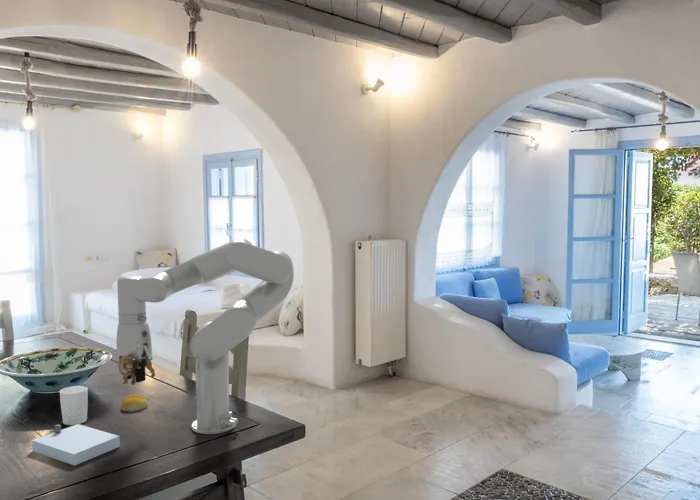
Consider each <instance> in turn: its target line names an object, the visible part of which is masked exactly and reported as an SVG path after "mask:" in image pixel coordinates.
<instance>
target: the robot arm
mask: <svg viewBox="0 0 700 500" xmlns="http://www.w3.org/2000/svg"><path fill="white" fill-rule="evenodd" d="M236 271H237V272H239V273H242V274H244V275H247V276H250V277H253V278H256V279H259V280H261V282H259V283H258V284H257V285H256V286H255V287H254V288H253V289H251V290H250V291H248V293H246V294H245V295H243V296H241V297H240V298H239V299H237V300H236V301H234V302H232V303H231V304H230V305H228V307H227V308H226V310H225V311H224V312H223V313H221V314H220V315H218V316H217V317H216V318H215V319H213V320H212V321H211V320H210V321H207V322H204V323H202V324H201V325H200V326H199V327H198V328H197V330H196V331H195V333H194V335H193V336H192V339H191V340H190V352H191V354H192V355H193V357H194V358H195V392H196V420H193V422H192V423H191V430H192V431H193V432H195V433H197V434H202V435H216V434H217V435H218V434H222V433H225V432H226V433H227V432H229V431H230V430H232V429H234V428H236V426H237V424H238V423H239V418H236V417H233V411H230V380H229V379H230V377H229V373H230V370H229V368H230V367H229V363H230V362H229V355H230V353H229V352H230V351H231V350H233V348H235V347H236V346H238V344H241V342H243V341H245V339H247V337H249V336H250V335H251V334H252V333H253V331H254V330H255V327H256V325H257V323H258V322H259V321H260V320H262V319H263V318H265V317H266V316H267V315H269V314H270V313H271V312H272V311H273V310H274V309H276V308H277V307H278V306H279V305H280V304H282V303H283V301H284V300H285V299H286V297H288V295H289V293H290V291H291V289H292V286H293V281H294V277H295V275H294V274H295V272H294V265H293V260H292V259H291V257H290V255H288V254H287V253H286V252H283V251H280V250H279V251H272V250H271V251H270V250H268V249H265V248H262V247H259V246H256V245H254V244H252V242H251V241H249V240H248V239H246V238H236V239H233V240H231V241H229V242H227V243H224V244H222V245H220V246H217V247H215V248H212V249H210V250H207V251H206V252H205V251H204V252H203V253H201V254H198V255H196V256H194V257H192V258H190V259H189V260H187V261H185V262H182V263H180V264H178V265H175V266H172V267H170V268H169V269H166V270H163V271H161V272H159V273H157V274H154V275H152V276H150V277H143V276H141V275H125V276H122V277H120V278H118V280H117V283H116V284H117V286H116V287H117V309H118V325H117V331H116V351H115V356H116V357H117V358H118V359H119V360H120V358H121V357H123V356H129V357H132V359H133V360H135V362H136V367H137V369H135V382H136V383H142V382H144V381H146V367H147V364H148V363H149V362H150V361H151V362H152V360H153V356H152V354H153V349H152V347H153V346H152V336H151V332H150V331H151V330H150V327H149V323H147V310H146V309H147V308H146V304H147V302H148V303H161V302H164V301H165V300H167V298H169V297H170V296H172V295H174V294H176V293H178V292H180V291H183V290H185V289H188V288H191V287H193V286H196V285H200V284H201V285H203V284H208V283H212V282H214V281H216V280H218V279H220V278H223V277H225V276H227V275H230V274H232V273H235V272H236ZM119 360H118V361H119ZM140 360H142V362H141V363H140ZM122 376H123V375H122ZM127 378H128V380H130V379H131V380H132V376H131V375H129V376H127ZM122 379H123V380H124V376H123V378H122ZM136 383H135V384H136Z"/></svg>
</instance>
